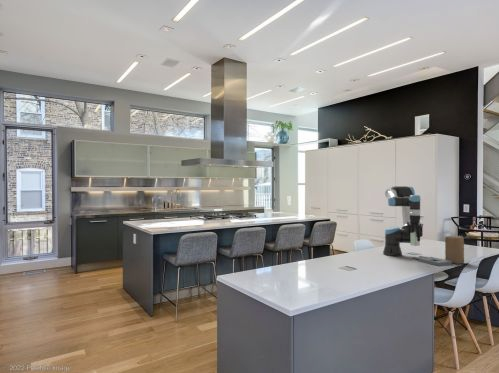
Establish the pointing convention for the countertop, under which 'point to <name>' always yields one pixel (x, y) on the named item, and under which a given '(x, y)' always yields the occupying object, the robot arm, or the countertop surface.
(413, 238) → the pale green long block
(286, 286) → the countertop surface
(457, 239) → the block
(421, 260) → the plate
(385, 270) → the countertop surface
